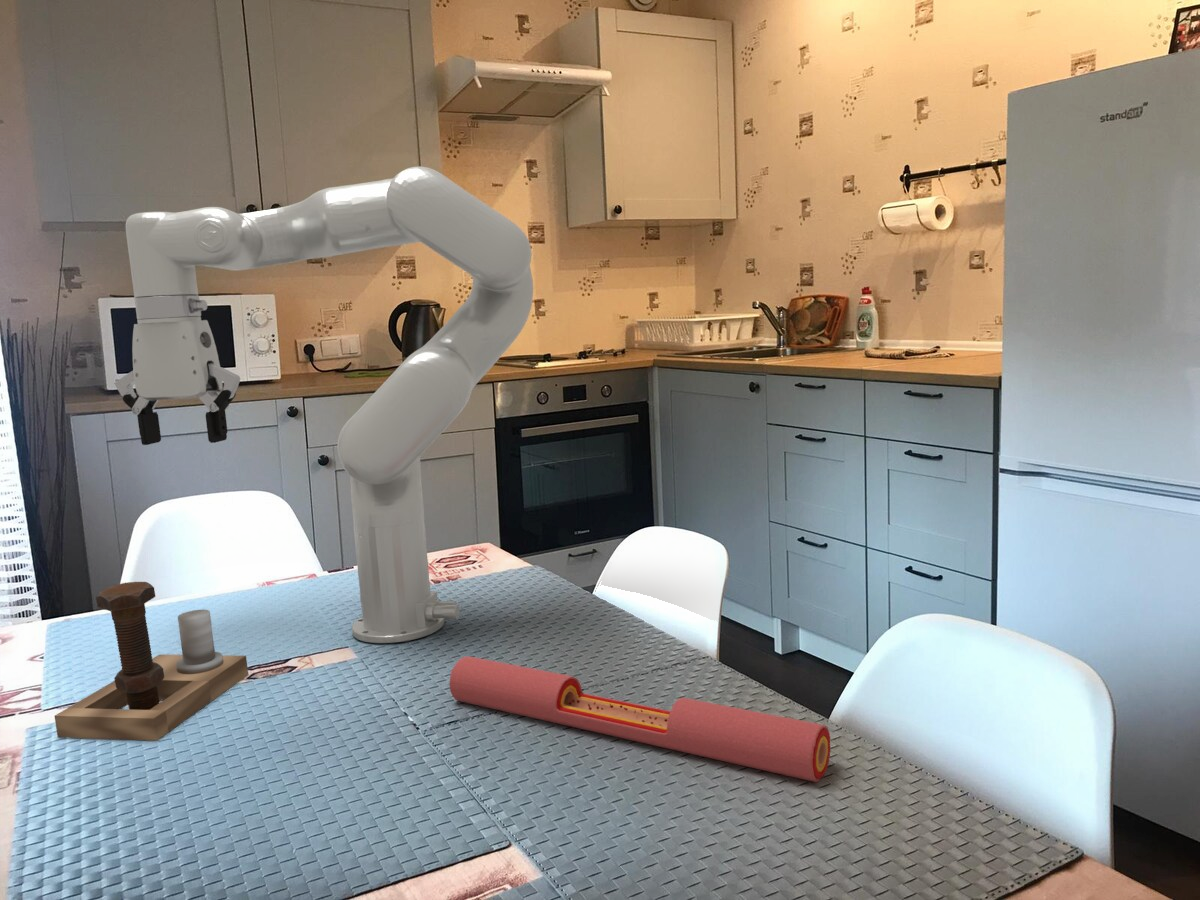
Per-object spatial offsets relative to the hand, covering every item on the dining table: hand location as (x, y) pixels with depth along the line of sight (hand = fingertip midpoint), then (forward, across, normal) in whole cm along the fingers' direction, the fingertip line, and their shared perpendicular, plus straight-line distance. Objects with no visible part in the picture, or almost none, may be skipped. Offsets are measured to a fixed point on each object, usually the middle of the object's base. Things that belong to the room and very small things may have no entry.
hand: (184, 442), depth 124 cm
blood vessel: (+29, -60, +22) cm, 70 cm away
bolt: (+28, -5, +21) cm, 36 cm away
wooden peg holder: (+28, -5, +18) cm, 34 cm away
